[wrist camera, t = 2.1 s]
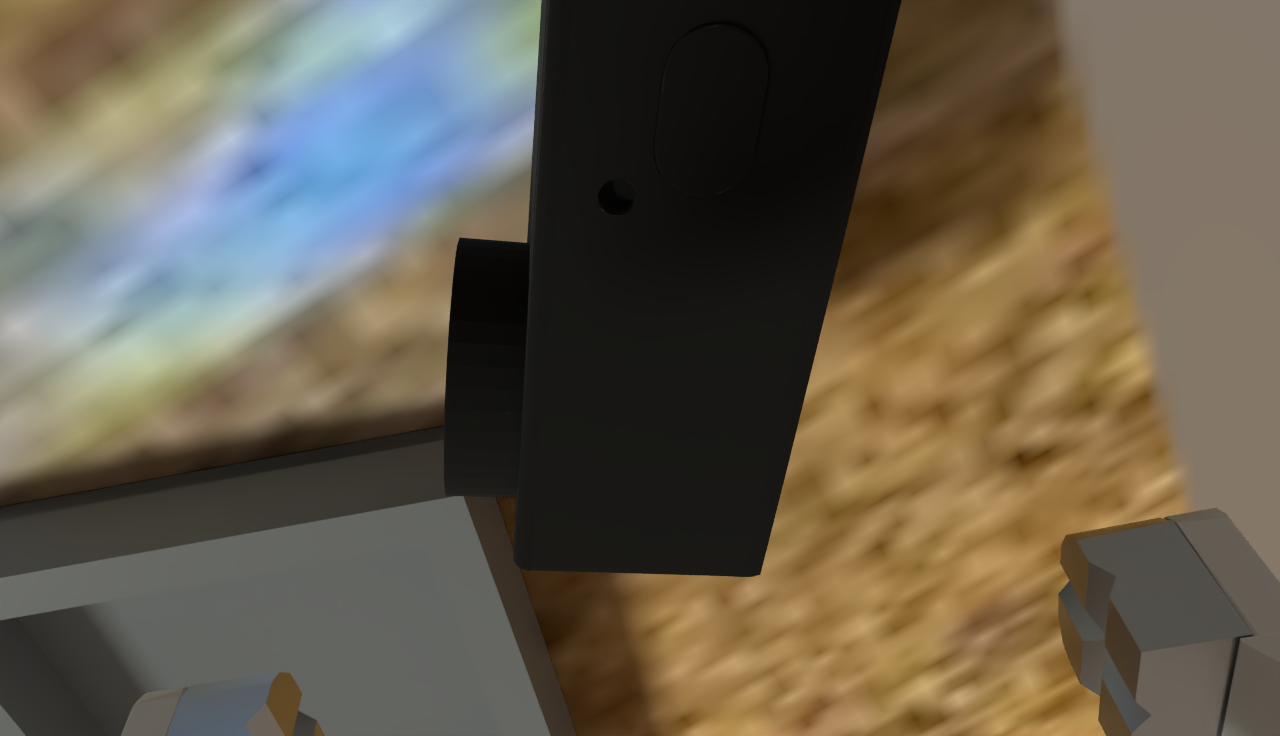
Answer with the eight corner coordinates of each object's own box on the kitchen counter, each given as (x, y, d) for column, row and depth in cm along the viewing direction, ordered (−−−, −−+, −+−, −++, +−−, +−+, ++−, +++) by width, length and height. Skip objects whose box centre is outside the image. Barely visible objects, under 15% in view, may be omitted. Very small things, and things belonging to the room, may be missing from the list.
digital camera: (480, -186, 18) (448, -84, 12) (802, -150, 19) (916, -38, 13) (466, 340, 24) (441, 574, 18) (711, 353, 24) (761, 583, 19)
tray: (-89, 523, 26) (-145, 603, 23) (469, 421, 25) (462, 494, 23) (183, 872, 34) (160, 952, 32) (599, 803, 34) (603, 880, 32)
